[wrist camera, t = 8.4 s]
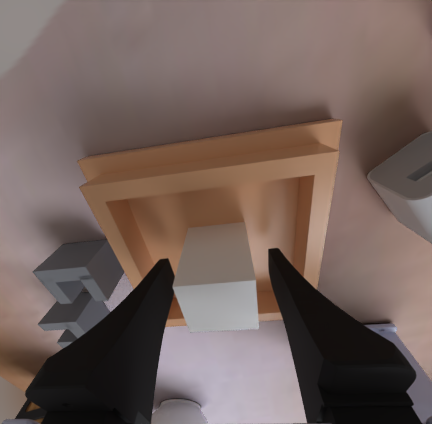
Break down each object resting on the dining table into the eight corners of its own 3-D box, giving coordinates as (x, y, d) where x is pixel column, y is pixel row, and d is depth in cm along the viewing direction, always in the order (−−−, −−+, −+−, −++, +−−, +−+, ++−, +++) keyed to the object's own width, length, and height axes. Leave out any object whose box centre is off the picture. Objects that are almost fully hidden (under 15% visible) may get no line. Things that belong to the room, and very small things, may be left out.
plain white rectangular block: (244, 221, 13) (255, 280, 9) (248, 264, 15) (259, 329, 11) (188, 227, 14) (172, 286, 9) (198, 268, 16) (190, 332, 11)
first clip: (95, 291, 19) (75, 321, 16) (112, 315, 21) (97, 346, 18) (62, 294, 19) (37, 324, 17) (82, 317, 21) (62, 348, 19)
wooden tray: (333, 118, 11) (367, 123, 8) (309, 292, 18) (323, 324, 16) (87, 156, 12) (50, 171, 10) (157, 303, 20) (147, 334, 17)
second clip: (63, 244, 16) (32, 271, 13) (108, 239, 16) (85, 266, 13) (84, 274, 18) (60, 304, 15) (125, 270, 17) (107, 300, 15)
